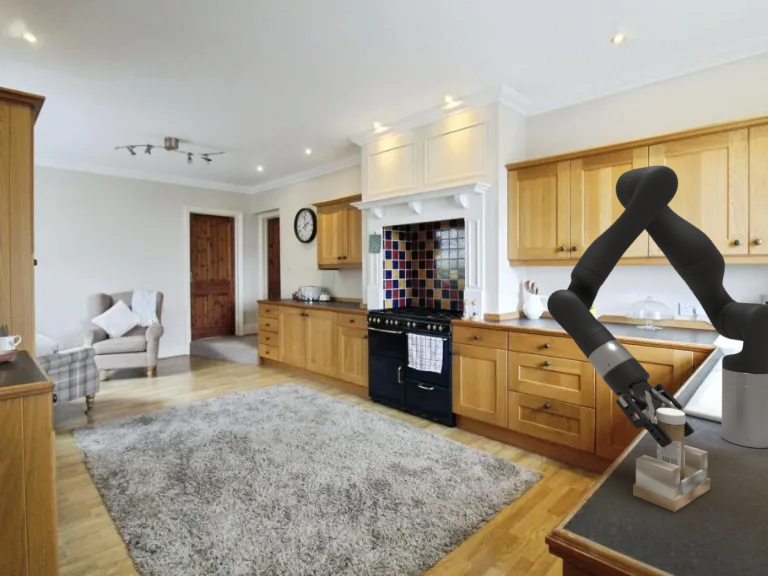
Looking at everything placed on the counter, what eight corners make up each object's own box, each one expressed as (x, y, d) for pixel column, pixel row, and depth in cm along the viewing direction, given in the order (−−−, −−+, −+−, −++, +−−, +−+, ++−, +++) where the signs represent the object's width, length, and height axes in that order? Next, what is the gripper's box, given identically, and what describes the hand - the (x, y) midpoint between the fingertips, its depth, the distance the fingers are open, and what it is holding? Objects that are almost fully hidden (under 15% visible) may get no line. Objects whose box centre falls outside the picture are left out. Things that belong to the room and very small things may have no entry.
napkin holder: (669, 474, 88) (669, 440, 87) (710, 488, 82) (710, 452, 82) (633, 494, 80) (633, 457, 80) (674, 512, 74) (674, 472, 74)
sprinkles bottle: (689, 482, 80) (689, 411, 80) (678, 490, 78) (678, 416, 77) (662, 473, 84) (662, 405, 84) (651, 480, 81) (651, 409, 81)
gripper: (610, 361, 83) (677, 438, 73) (648, 352, 90) (713, 421, 81) (585, 382, 87) (644, 458, 78) (623, 372, 95) (681, 440, 86)
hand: (679, 439), depth 80 cm, fingers open, 8 cm apart
